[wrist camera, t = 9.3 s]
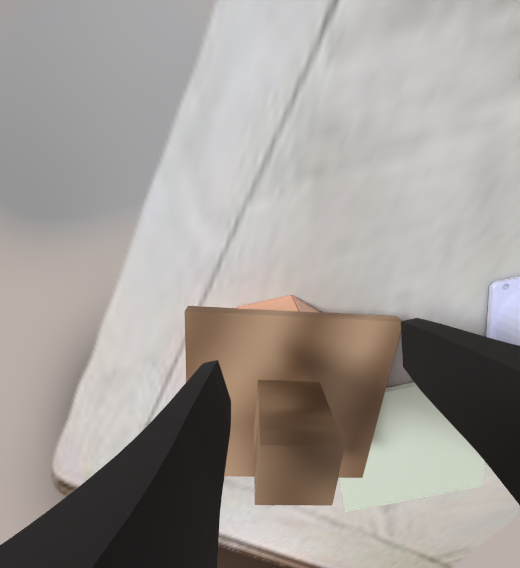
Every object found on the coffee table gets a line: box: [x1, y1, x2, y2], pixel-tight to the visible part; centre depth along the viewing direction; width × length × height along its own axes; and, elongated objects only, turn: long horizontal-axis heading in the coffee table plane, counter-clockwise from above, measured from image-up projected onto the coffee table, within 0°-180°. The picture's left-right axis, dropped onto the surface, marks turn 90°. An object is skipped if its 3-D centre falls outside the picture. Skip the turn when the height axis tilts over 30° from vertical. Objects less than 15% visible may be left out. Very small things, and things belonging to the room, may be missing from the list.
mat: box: [339, 382, 485, 512], centre depth 25 cm, size 15×15×1 cm
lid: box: [185, 306, 402, 505], centre depth 14 cm, size 13×13×5 cm
